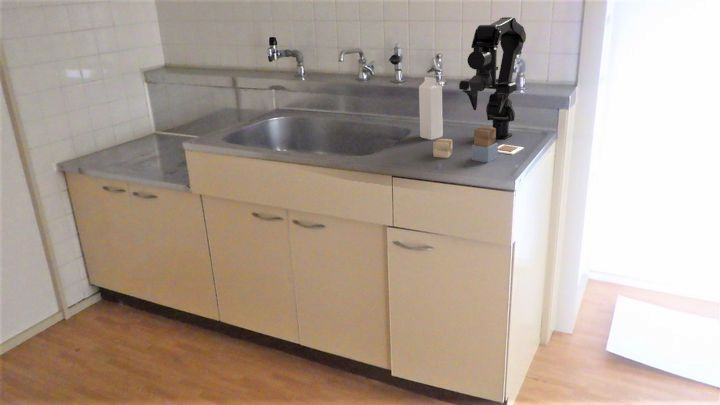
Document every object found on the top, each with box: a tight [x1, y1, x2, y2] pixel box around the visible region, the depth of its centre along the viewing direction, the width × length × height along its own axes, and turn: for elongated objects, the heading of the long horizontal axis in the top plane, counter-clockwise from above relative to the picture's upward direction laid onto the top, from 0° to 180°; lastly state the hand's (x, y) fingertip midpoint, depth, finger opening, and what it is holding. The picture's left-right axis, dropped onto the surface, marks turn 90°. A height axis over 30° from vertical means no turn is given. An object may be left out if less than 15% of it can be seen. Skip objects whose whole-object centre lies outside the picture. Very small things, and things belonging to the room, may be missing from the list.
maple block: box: [432, 138, 453, 159], centre depth 201 cm, size 5×5×5 cm
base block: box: [471, 142, 499, 163], centre depth 194 cm, size 6×6×5 cm
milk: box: [418, 76, 444, 141], centre depth 219 cm, size 6×6×22 cm
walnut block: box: [473, 126, 497, 147], centre depth 193 cm, size 5×5×5 cm
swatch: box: [498, 144, 525, 156], centre depth 202 cm, size 8×8×1 cm
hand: (486, 111), depth 203 cm, fingers open, 9 cm apart
